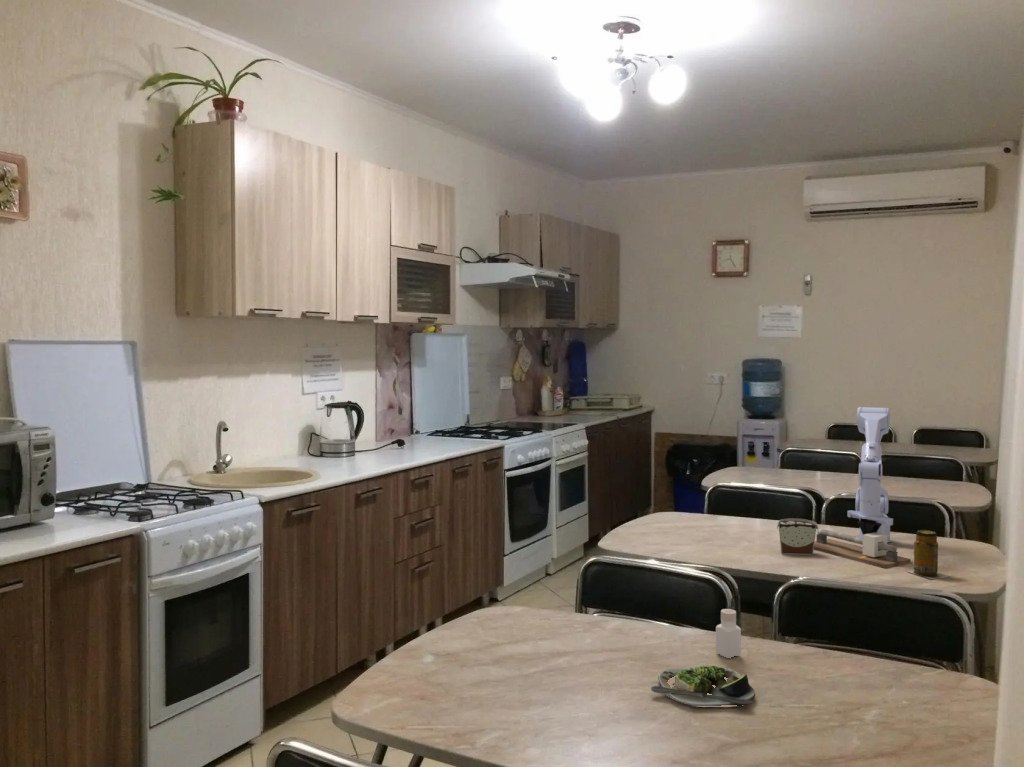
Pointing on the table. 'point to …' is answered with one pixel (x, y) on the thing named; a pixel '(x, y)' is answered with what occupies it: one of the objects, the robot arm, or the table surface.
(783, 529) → the food container
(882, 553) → the collar
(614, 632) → the table surface
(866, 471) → the robot arm
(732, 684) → the salad plate
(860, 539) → the wooden slider rail
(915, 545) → the condiment
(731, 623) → the salt shaker
